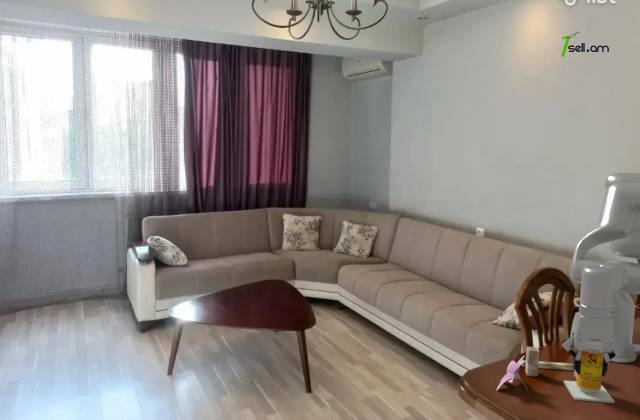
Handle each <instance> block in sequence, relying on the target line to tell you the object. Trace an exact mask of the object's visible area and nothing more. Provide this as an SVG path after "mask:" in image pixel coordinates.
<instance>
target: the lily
mask: <svg viewBox="0 0 640 420" xmlns="http://www.w3.org/2000/svg"><path fill="white" fill-rule="evenodd" d="M524 357H526V354H525V355H523V356H521V358H519V360H518V361H517V362H516V361H514V360H511V361H510V363H509V364H508V366H507V368H506V370H505V371H506V374H505V375H504V376H503V377H502V378H501V379H500V383H499V384H498V386H497V388H496V391H498V390H499V389H500V387H501V386H502V385H503V384H504V383H505V382H507V381H508V382H509V383H513V380H520V382H521V383H522V384H523V386H524V387H525V389H526V391H529V389H528V387H527V385H526V383H525V382H524V381H523V380H522V378H521V377H520V366H522V363H523V362H524V360H525V359H524ZM522 360H523V361H522Z"/></svg>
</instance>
